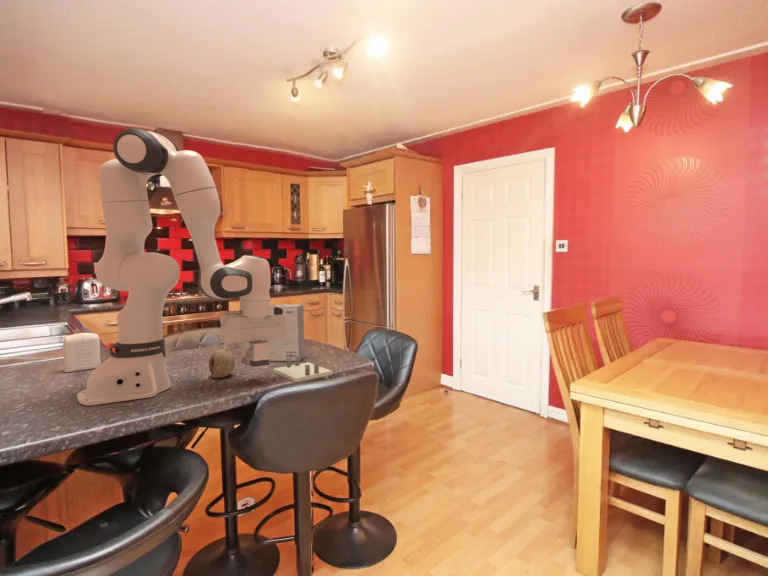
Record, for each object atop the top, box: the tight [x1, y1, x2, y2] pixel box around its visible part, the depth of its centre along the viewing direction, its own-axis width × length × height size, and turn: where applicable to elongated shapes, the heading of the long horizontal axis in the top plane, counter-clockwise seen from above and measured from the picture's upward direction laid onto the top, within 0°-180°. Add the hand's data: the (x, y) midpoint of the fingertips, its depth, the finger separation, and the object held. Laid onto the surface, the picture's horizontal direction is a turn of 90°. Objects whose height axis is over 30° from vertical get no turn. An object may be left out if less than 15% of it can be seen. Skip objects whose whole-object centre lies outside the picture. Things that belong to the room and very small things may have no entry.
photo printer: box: [62, 332, 102, 373], centre depth 145 cm, size 10×4×12 cm, turn 135°
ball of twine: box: [208, 346, 236, 379], centre depth 137 cm, size 9×8×10 cm
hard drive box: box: [262, 304, 306, 362], centre depth 159 cm, size 16×8×20 cm, turn 84°
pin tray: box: [272, 356, 333, 383], centre depth 139 cm, size 13×15×4 cm
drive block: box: [241, 340, 270, 369], centre depth 129 cm, size 5×9×7 cm, turn 41°
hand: (254, 355), depth 130 cm, fingers closed on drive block, 4 cm apart
